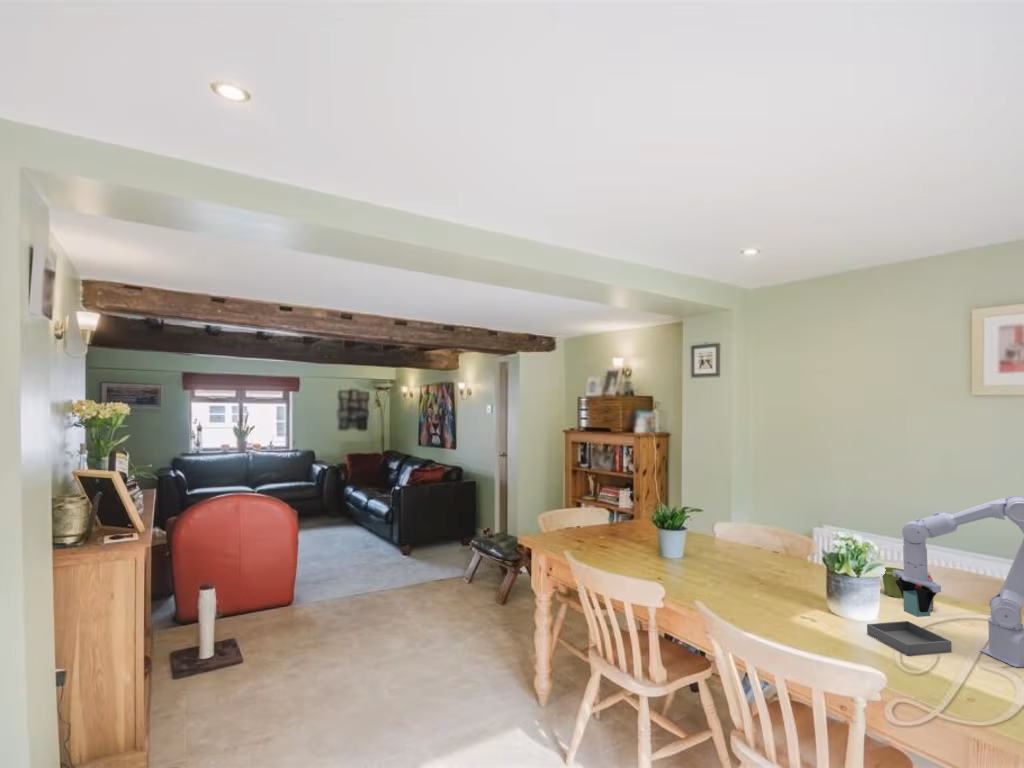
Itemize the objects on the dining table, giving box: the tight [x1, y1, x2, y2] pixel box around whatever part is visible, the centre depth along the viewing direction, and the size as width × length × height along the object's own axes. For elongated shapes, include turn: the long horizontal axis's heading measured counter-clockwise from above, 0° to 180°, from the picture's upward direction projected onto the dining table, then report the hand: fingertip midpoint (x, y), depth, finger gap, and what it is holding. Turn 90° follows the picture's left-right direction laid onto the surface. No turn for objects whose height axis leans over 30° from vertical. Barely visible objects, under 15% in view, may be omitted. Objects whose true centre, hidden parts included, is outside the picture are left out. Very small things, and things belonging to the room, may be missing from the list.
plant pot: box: [881, 566, 904, 599], centre depth 195 cm, size 9×9×9 cm
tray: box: [866, 620, 952, 657], centre depth 157 cm, size 14×14×3 cm
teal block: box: [902, 590, 931, 618], centre depth 161 cm, size 4×4×6 cm
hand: (916, 608), depth 161 cm, fingers closed on teal block, 4 cm apart
